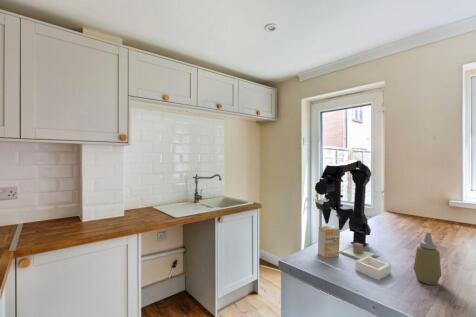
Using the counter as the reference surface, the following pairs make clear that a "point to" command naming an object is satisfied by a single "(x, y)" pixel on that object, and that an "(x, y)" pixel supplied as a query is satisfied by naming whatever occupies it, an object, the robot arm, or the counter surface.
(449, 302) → the counter surface
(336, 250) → the supplement box
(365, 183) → the robot arm
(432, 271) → the squeeze bottle
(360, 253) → the lid
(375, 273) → the white box
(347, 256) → the mat
